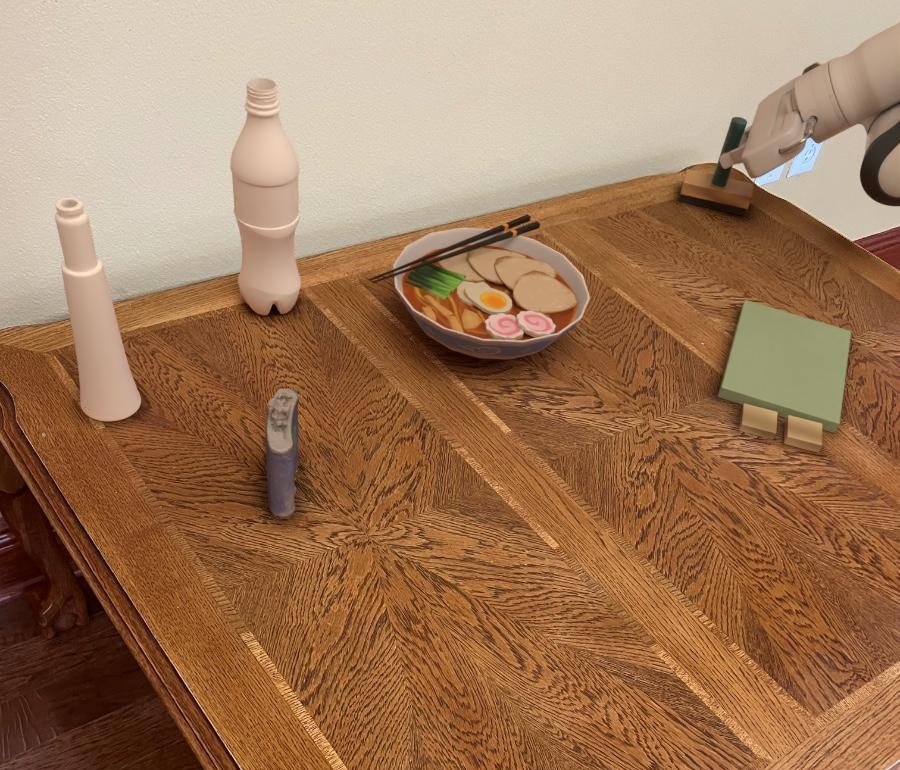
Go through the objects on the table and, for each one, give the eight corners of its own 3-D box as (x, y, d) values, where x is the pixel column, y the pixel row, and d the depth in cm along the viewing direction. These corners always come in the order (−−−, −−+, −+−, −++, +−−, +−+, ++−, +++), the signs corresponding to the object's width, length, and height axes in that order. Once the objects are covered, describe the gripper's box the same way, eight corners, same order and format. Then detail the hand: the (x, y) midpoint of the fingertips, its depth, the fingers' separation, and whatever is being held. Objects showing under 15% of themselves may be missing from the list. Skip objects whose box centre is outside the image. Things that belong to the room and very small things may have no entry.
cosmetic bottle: (153, 402, 99) (120, 204, 82) (108, 430, 95) (64, 230, 78) (113, 377, 101) (73, 177, 84) (68, 403, 97) (15, 201, 80)
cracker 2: (784, 422, 109) (788, 414, 108) (818, 431, 109) (822, 423, 108) (783, 444, 107) (787, 436, 106) (818, 453, 106) (822, 445, 105)
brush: (746, 203, 141) (775, 121, 132) (744, 216, 138) (774, 134, 129) (681, 188, 142) (705, 106, 133) (678, 201, 139) (702, 119, 130)
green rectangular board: (740, 309, 123) (744, 299, 122) (846, 340, 121) (851, 330, 120) (717, 397, 111) (721, 387, 110) (834, 433, 109) (839, 423, 108)
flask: (294, 521, 91) (292, 437, 82) (263, 520, 90) (258, 435, 82) (300, 456, 96) (299, 371, 88) (271, 454, 96) (267, 369, 88)
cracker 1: (740, 410, 110) (743, 402, 109) (773, 419, 110) (777, 411, 109) (738, 432, 107) (741, 424, 107) (772, 441, 107) (776, 433, 106)
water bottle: (310, 296, 114) (310, 79, 94) (284, 328, 109) (279, 107, 90) (256, 279, 115) (245, 61, 95) (228, 310, 110) (211, 88, 91)
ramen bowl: (462, 425, 102) (472, 363, 96) (342, 315, 112) (344, 253, 106) (620, 354, 114) (639, 295, 107) (499, 260, 124) (509, 201, 117)
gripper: (822, 158, 121) (722, 208, 130) (834, 98, 134) (742, 147, 143) (802, 114, 118) (701, 168, 127) (816, 57, 131) (724, 109, 140)
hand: (723, 157), depth 135 cm, fingers closed on brush, 2 cm apart
